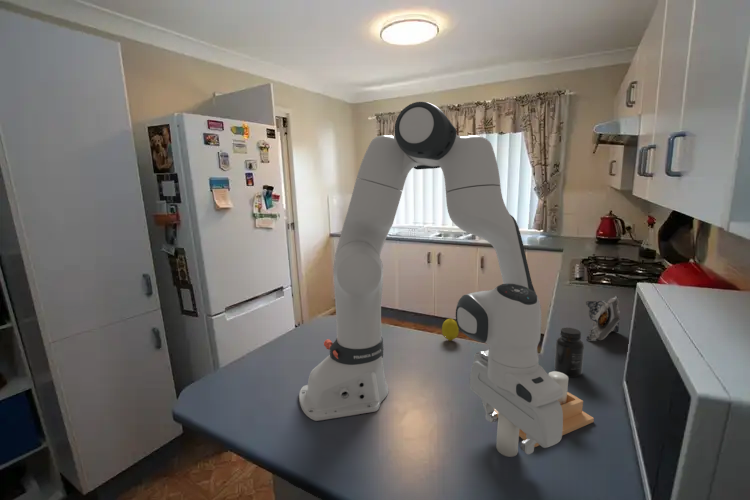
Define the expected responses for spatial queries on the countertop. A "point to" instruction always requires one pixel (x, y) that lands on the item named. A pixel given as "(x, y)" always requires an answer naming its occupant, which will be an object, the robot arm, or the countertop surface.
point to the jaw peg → (507, 437)
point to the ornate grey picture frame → (603, 318)
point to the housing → (567, 408)
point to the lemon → (450, 329)
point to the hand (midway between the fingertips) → (507, 434)
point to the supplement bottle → (569, 352)
